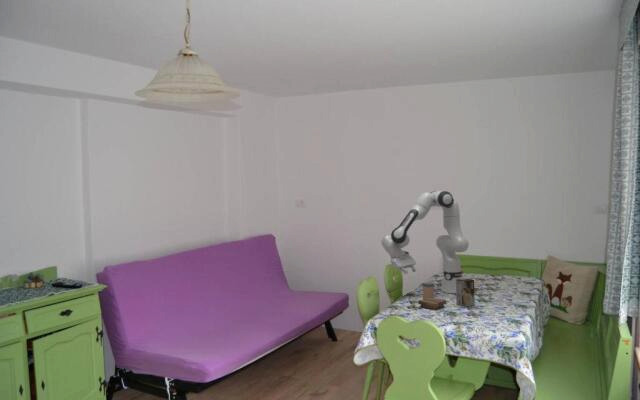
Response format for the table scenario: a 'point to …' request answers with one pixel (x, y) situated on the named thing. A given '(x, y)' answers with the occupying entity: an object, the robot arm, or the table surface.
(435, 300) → the walnut stand
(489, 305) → the table surface
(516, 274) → the table surface
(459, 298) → the coffee box
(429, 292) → the housing
